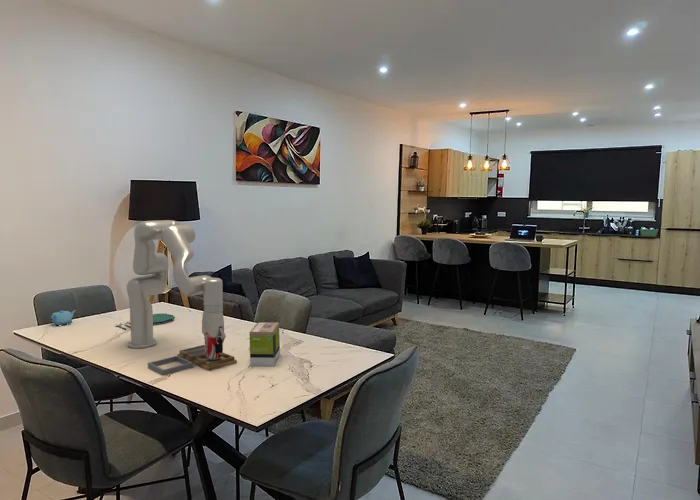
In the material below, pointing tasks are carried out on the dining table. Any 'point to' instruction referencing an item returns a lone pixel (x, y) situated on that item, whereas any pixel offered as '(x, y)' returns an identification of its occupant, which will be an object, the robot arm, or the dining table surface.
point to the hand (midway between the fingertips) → (213, 350)
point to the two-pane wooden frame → (200, 360)
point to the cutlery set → (155, 319)
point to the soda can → (211, 347)
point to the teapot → (62, 317)
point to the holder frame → (163, 372)
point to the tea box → (264, 344)
